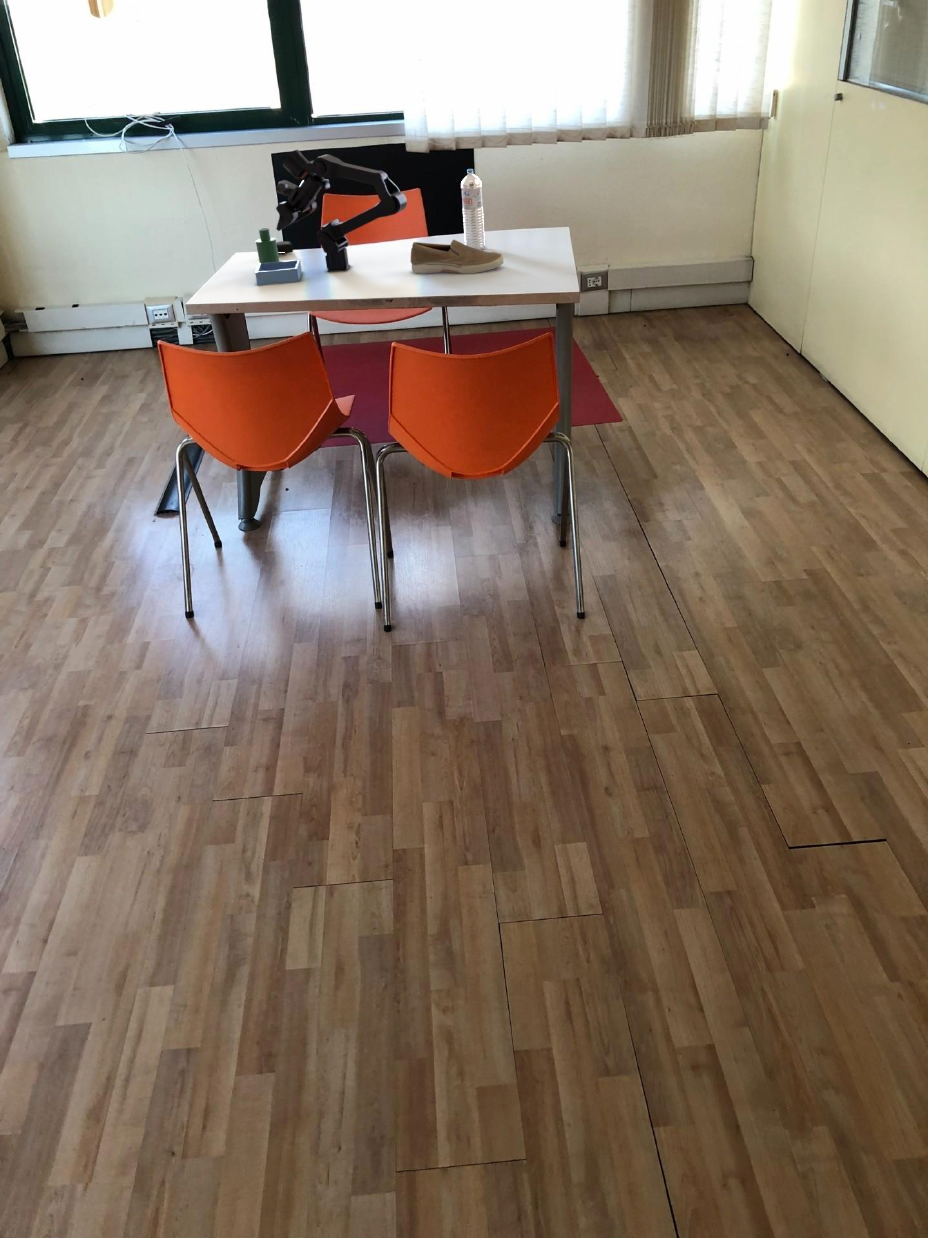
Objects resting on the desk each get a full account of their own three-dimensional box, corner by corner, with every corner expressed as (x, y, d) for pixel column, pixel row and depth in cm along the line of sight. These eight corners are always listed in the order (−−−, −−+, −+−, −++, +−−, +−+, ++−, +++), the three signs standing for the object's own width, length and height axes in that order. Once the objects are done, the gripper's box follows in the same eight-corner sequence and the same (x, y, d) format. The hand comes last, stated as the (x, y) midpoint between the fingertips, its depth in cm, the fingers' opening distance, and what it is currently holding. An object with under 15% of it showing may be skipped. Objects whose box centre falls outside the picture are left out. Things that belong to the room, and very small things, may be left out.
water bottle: (462, 248, 330) (456, 169, 316) (479, 245, 332) (475, 166, 319) (470, 252, 325) (465, 171, 311) (488, 248, 327) (484, 168, 313)
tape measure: (274, 256, 341) (273, 245, 339) (272, 253, 347) (270, 242, 344) (294, 254, 342) (292, 243, 340) (291, 250, 348) (289, 239, 346)
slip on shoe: (505, 263, 307) (504, 234, 303) (500, 272, 298) (498, 242, 293) (417, 266, 314) (414, 237, 309) (408, 275, 304) (405, 245, 300)
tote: (301, 272, 318) (299, 259, 316) (299, 281, 308) (296, 268, 306) (261, 275, 318) (259, 263, 316) (257, 285, 308) (255, 272, 306)
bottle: (283, 266, 328) (276, 226, 321) (277, 271, 322) (270, 230, 315) (264, 267, 329) (257, 227, 322) (258, 272, 323) (251, 231, 316)
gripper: (302, 165, 313) (278, 202, 322) (276, 176, 298) (251, 214, 307) (327, 191, 315) (303, 227, 324) (303, 202, 300) (278, 240, 309)
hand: (283, 226), depth 316 cm, fingers open, 9 cm apart
